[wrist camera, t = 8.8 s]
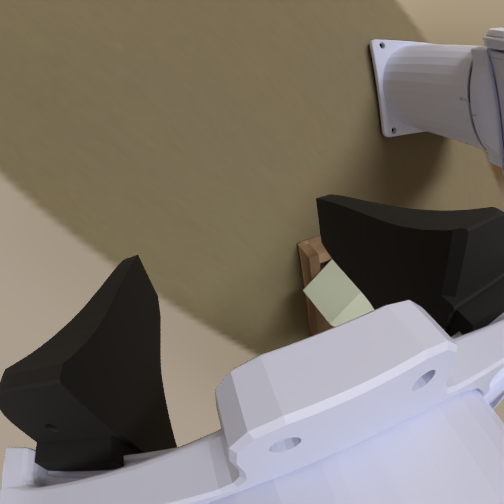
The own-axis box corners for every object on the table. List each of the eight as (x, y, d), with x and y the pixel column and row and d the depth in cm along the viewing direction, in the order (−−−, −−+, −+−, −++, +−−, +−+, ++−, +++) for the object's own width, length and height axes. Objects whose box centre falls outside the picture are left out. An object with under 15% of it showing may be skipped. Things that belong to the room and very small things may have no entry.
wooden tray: (380, 215, 25) (396, 226, 23) (377, 310, 31) (388, 324, 29) (297, 243, 24) (309, 257, 22) (310, 338, 30) (319, 354, 28)
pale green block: (343, 246, 22) (375, 275, 19) (381, 288, 27) (407, 313, 24) (302, 290, 23) (329, 324, 20) (348, 322, 28) (372, 350, 24)
